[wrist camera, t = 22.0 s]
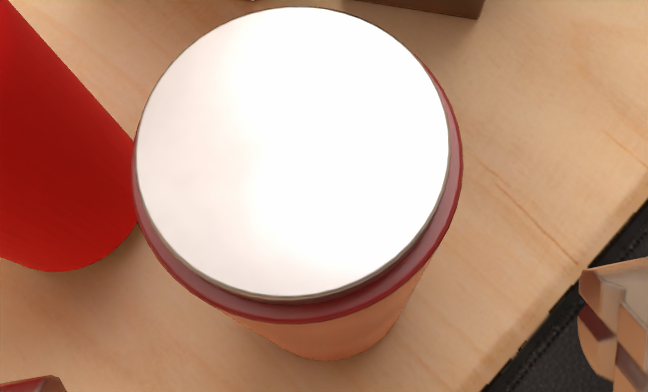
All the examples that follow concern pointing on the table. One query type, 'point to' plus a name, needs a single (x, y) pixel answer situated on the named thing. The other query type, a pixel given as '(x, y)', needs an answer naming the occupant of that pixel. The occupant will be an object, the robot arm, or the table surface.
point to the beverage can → (56, 159)
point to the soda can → (298, 175)
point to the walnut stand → (440, 6)
